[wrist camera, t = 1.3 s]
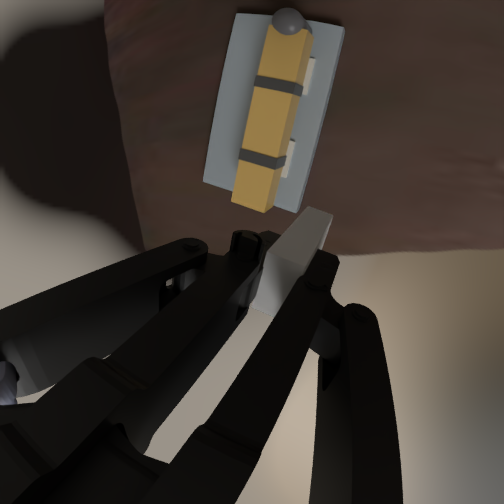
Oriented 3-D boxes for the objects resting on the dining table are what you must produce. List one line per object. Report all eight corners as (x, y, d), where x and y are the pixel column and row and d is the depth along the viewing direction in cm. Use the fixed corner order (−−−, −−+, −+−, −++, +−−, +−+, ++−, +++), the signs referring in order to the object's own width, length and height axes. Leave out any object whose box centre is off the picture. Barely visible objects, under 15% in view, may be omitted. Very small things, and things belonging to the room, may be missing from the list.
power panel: (241, 16, 29) (235, 12, 27) (345, 31, 25) (343, 26, 24) (208, 179, 40) (201, 182, 38) (299, 209, 37) (294, 214, 35)
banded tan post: (283, 19, 26) (269, 5, 22) (320, 24, 24) (310, 10, 21) (244, 193, 36) (226, 202, 33) (276, 204, 35) (262, 215, 31)
